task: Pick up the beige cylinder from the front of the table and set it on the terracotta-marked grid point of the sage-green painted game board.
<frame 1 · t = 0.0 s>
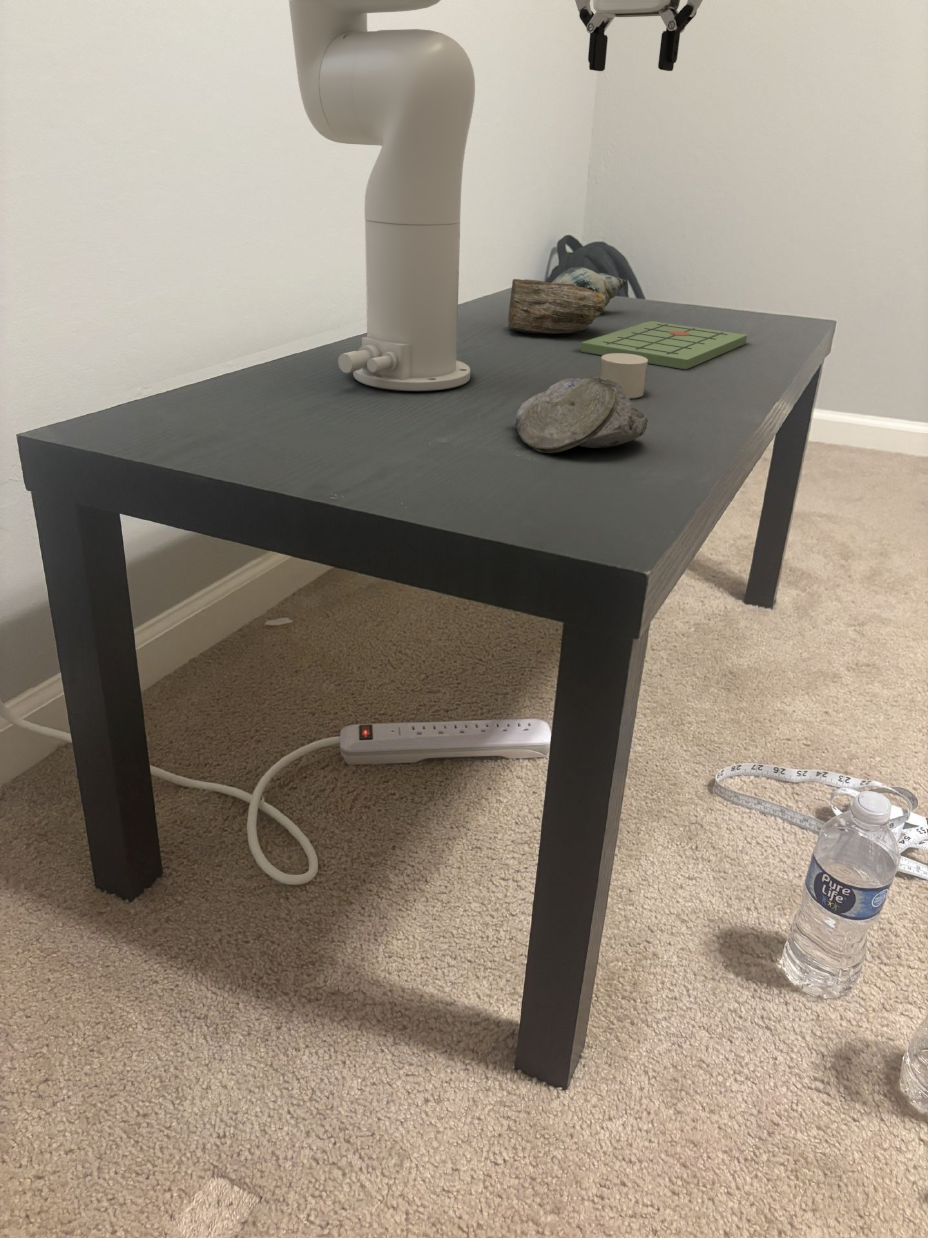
hand: (630, 69, 115), 31 cm above the table, tool pointing down, fingers open, 9 cm apart
fossilized seashell: (579, 443, 79), on the table
beige cylinder: (620, 392, 95), on the table
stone: (554, 332, 123), on the table
seashell: (578, 313, 137), on the table
board: (665, 347, 116), on the table
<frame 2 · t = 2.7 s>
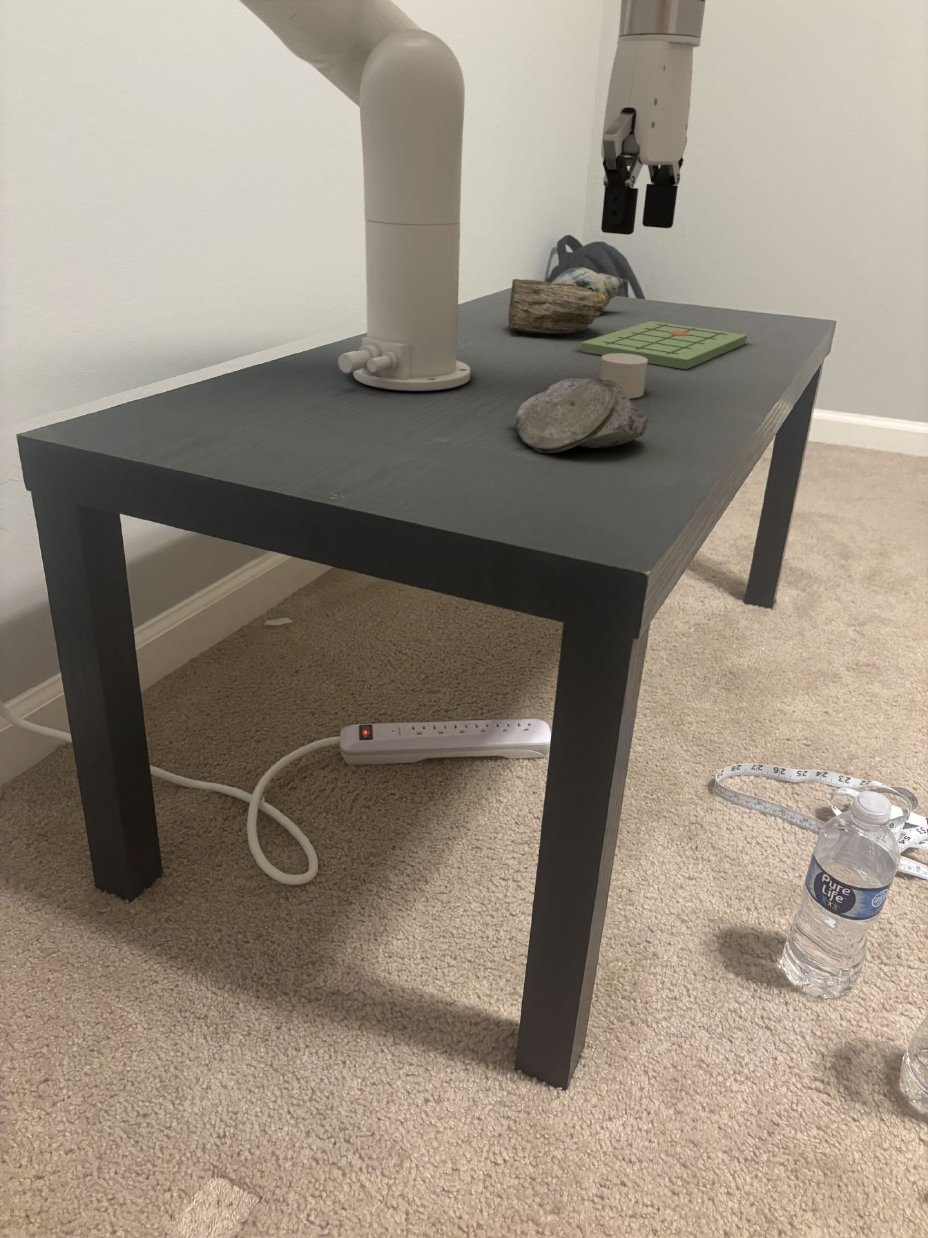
hand: (637, 229, 90), 16 cm above the table, tool pointing down, fingers open, 9 cm apart
nothing on the table moved.
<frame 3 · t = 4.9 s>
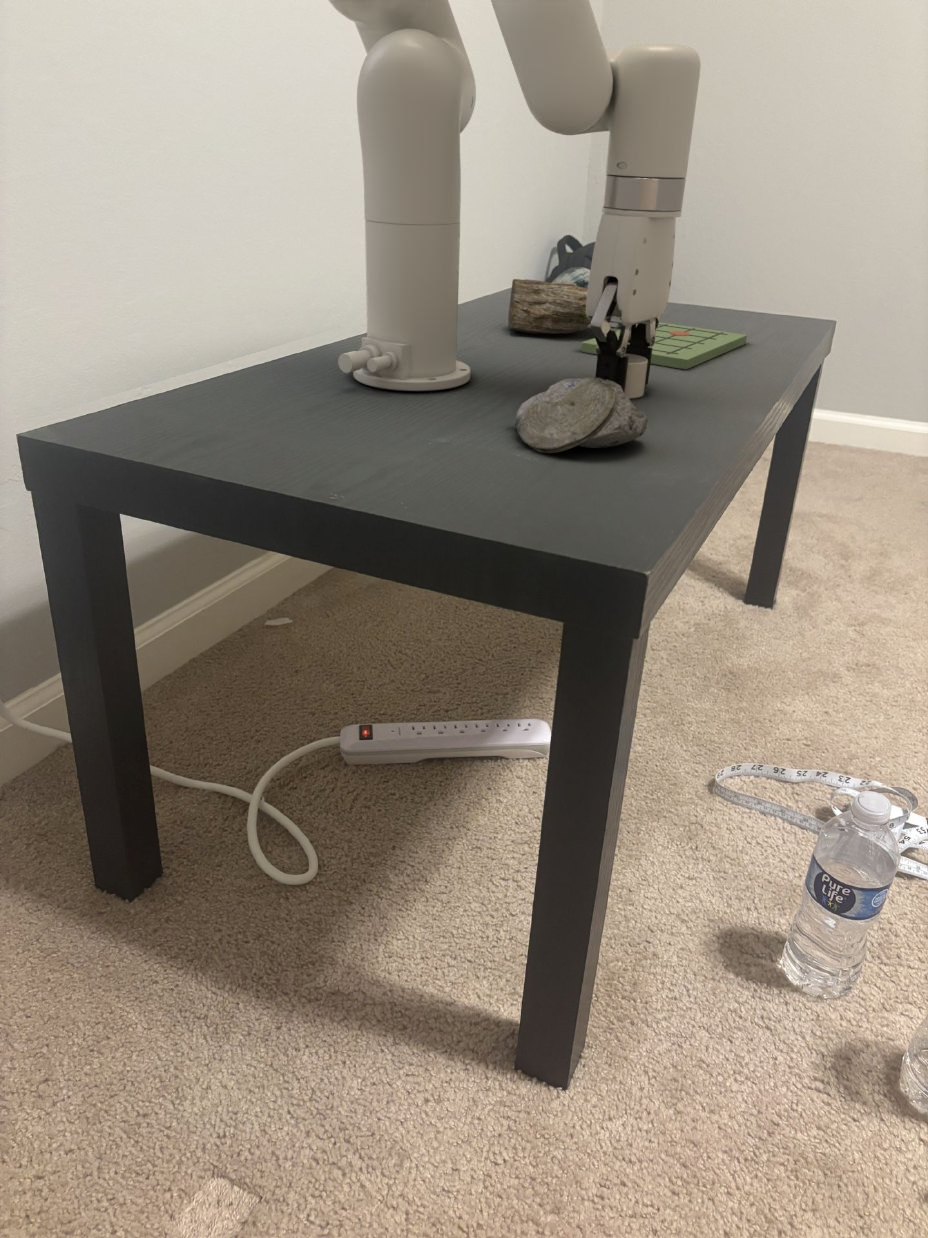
hand: (621, 387, 95), 1 cm above the table, tool pointing down, fingers closed on beige cylinder, 4 cm apart
beige cylinder: (620, 392, 95), on the table, touching gripper
everything else where it was.
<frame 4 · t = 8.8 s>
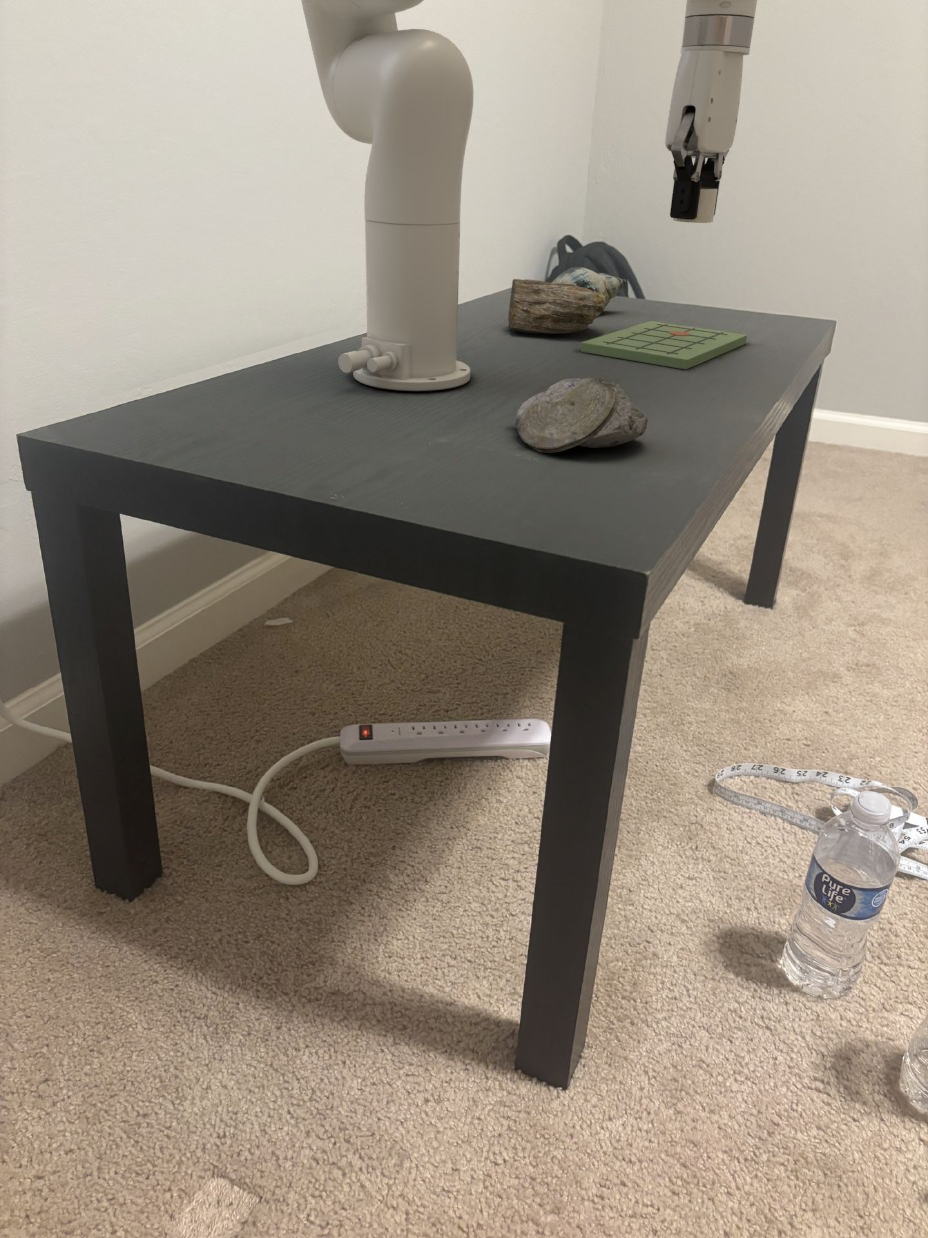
hand: (692, 215, 109), 16 cm above the table, tool pointing down, fingers closed on beige cylinder, 4 cm apart
beige cylinder: (692, 220, 109), point 15 cm above the table, touching gripper
everything else where it was.
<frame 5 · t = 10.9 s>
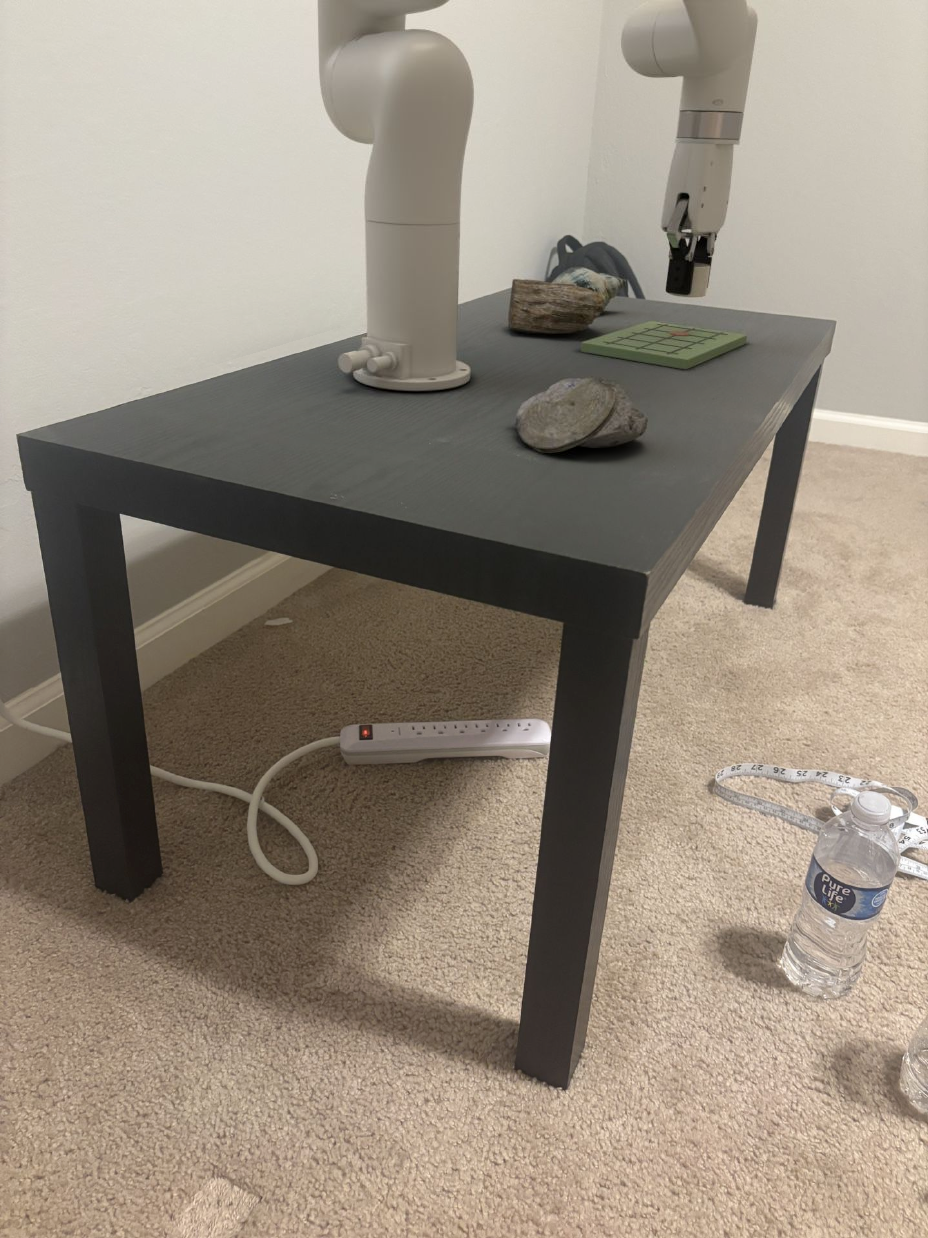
hand: (686, 289, 116), 7 cm above the table, tool pointing down, fingers closed on beige cylinder, 4 cm apart
beige cylinder: (686, 294, 116), point 6 cm above the table, touching gripper
everything else where it was.
when the fingers open (2 cm above the table, at t = 12.5 s): beige cylinder stays where it is, resting on board.
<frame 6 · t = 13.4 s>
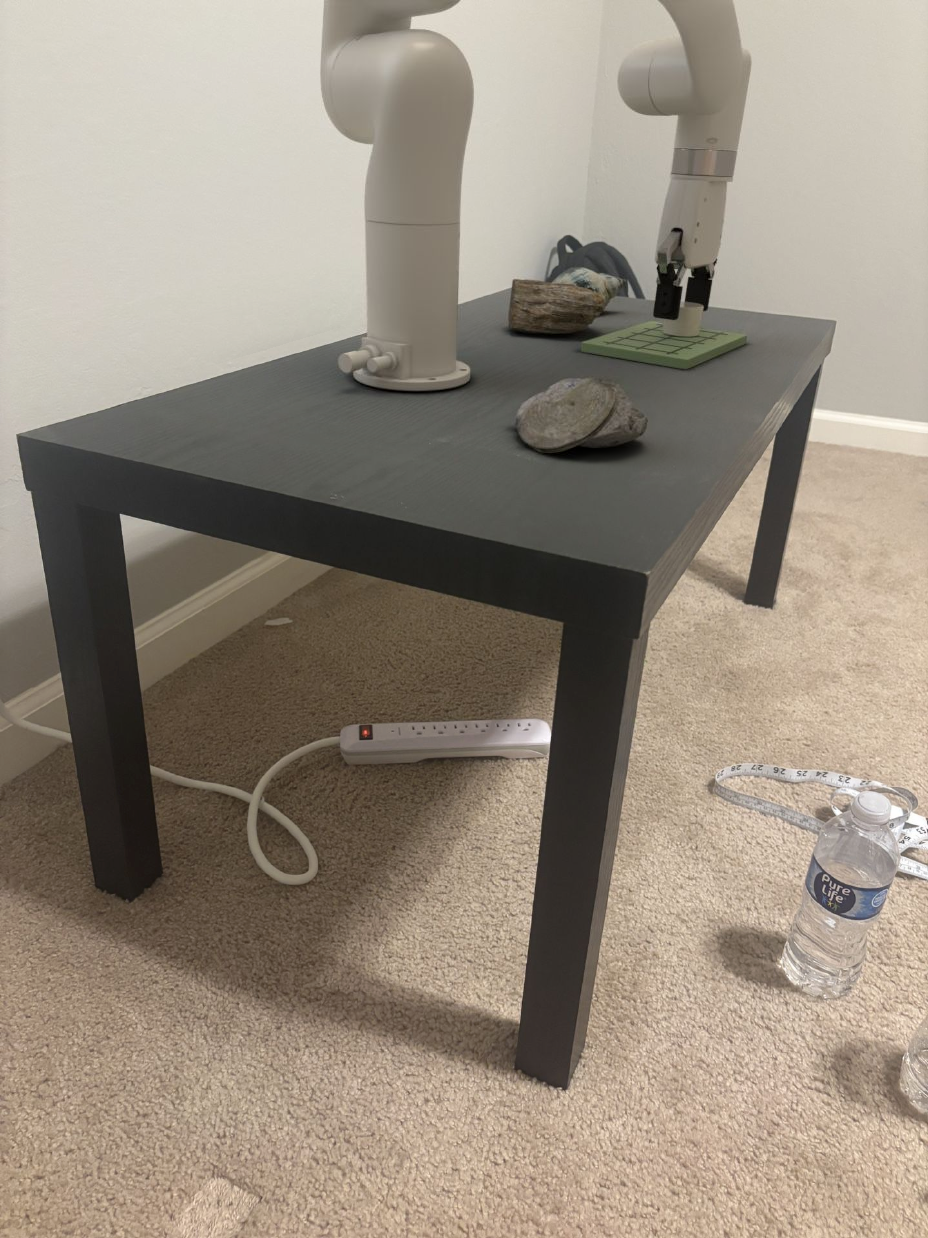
hand: (680, 313, 117), 4 cm above the table, tool pointing down, fingers open, 9 cm apart
beige cylinder: (680, 333, 118), point 1 cm above the table, touching board
everything else where it was.
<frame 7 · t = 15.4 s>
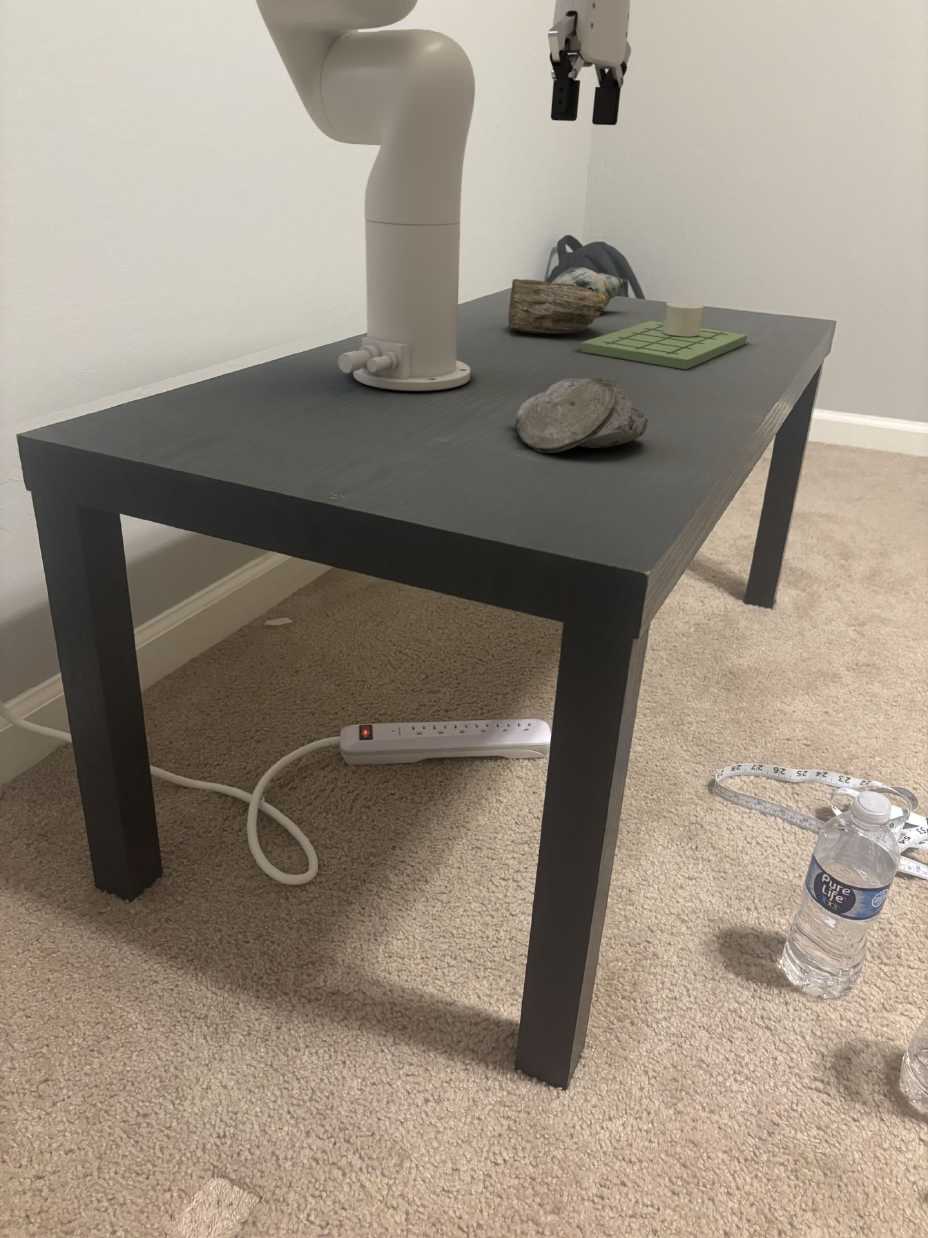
hand: (584, 122, 107), 25 cm above the table, tool pointing down, fingers open, 9 cm apart
nothing on the table moved.
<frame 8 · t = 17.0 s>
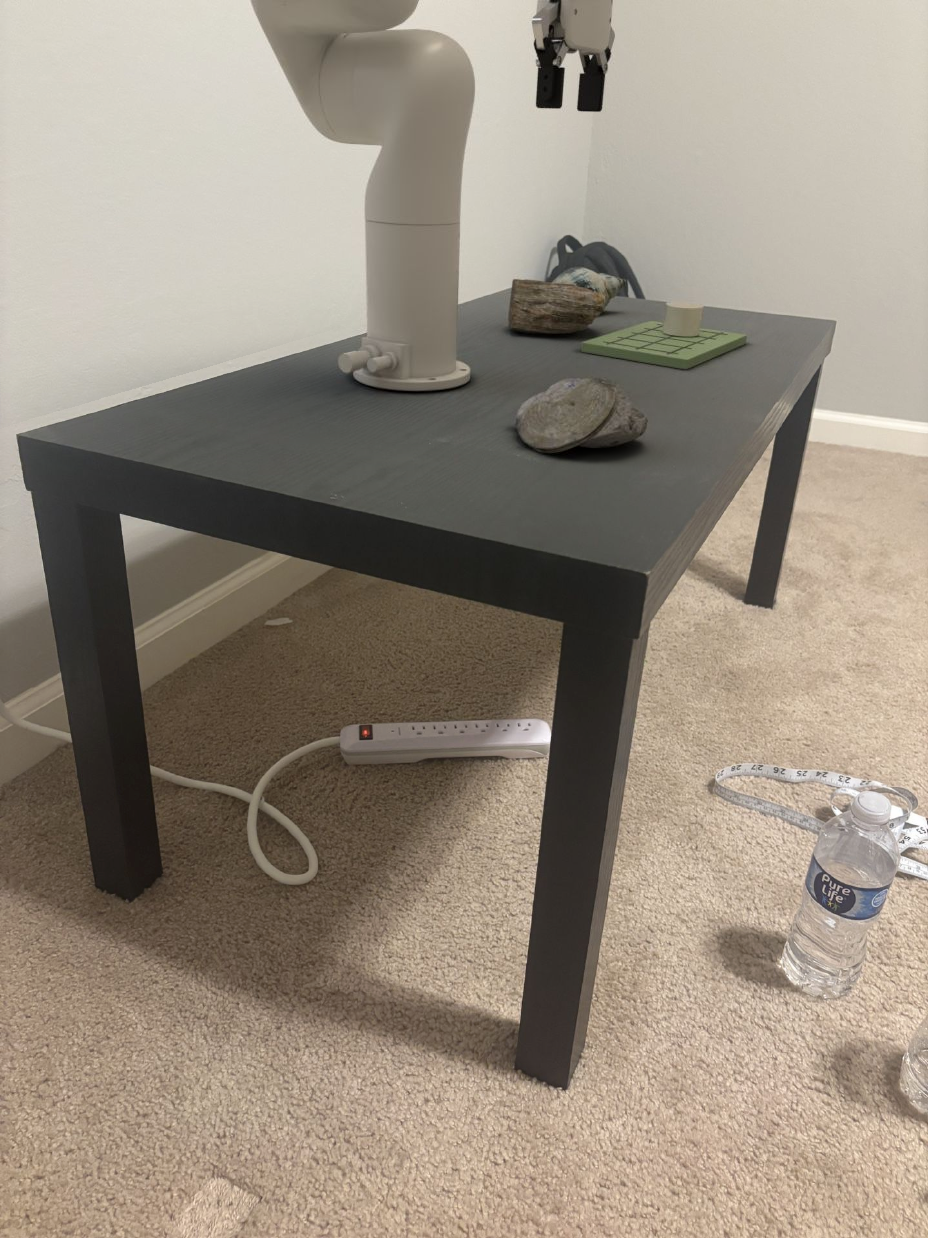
hand: (569, 109, 107), 26 cm above the table, tool pointing down, fingers open, 9 cm apart
nothing on the table moved.
at the end: beige cylinder 0.1 cm from the target spot on the board, point 1.3 cm above the board's base; beige cylinder tilted 0°; the gripper is holding nothing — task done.
